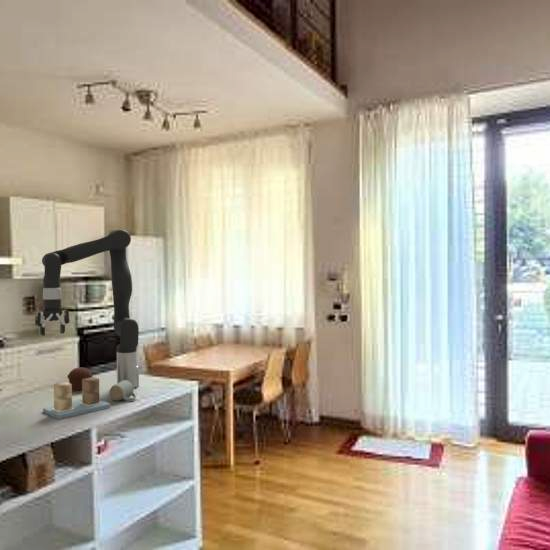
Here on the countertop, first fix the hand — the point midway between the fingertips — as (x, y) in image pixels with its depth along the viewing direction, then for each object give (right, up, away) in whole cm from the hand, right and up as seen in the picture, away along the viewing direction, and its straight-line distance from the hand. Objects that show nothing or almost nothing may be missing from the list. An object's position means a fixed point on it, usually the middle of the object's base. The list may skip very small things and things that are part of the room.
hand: (52, 334), depth 237 cm
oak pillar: (+13, -27, -23) cm, 38 cm away
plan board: (+18, -29, -18) cm, 38 cm away
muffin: (+7, -28, +15) cm, 32 cm away
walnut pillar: (+22, -27, -14) cm, 37 cm away
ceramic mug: (+32, -29, -2) cm, 43 cm away
